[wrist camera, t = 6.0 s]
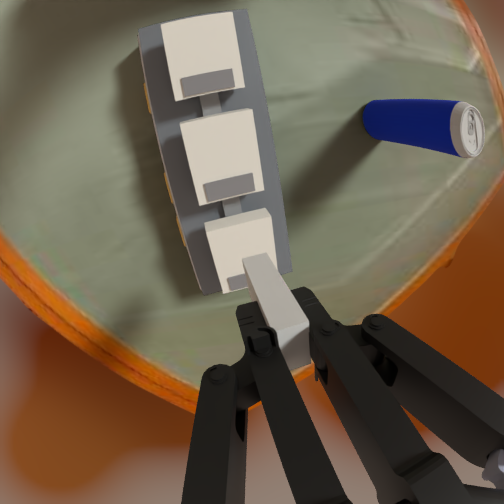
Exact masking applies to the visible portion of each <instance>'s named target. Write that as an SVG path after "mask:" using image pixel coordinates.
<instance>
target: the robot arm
mask: <svg viewBox="0 0 504 504" xmlns="http://www.w3.org/2000/svg"><path fill="white" fill-rule="evenodd" d="M242 262H243V267H244V271H245V276H246V280H247V285H248V289H249V294H250V297H251V300H252V302H250V303H246V304H243V305H239V306H238V307H237V310H236V317H237V320H238V324H239V327H240V331H241V334H242V338H243V341H244V345H245V354H244V356H243V357H242V358H241V360H240V361H238V362H237V363H235V364H233V365H232V366H228V365H224V364H218V365H214V366H212V367H210V368H208V369H207V370H206V371H205V372H204V374H203V376H202V380H201V385H200V391H199V396H198V402H197V408H196V413H195V419H194V425H193V431H192V437H191V443H190V450H189V456H188V462H187V468H186V474H185V481H184V488H183V495H182V502H181V504H245V503H244V502H245V478H246V477H245V476H246V449H247V423H248V408H249V407H251V406H252V405H254V404H256V403H257V402H259V401H261V402H262V405H263V408H264V411H265V414H266V417H267V420H268V423H269V426H270V430H271V433H272V436H273V439H274V442H275V445H276V448H277V450H278V454H279V456H280V459H281V462H282V465H283V468H284V471H285V474H286V477H287V480H288V482H289V485H290V488H291V491H292V494H293V496H294V499H295V502H296V504H353V503H352V502H351V501H350V500H349V499H348V498H347V496H346V494H345V492H344V490H343V488H342V486H341V483H340V481H339V479H338V477H337V475H336V473H335V470H334V468H333V466H332V464H331V462H330V459H329V457H328V455H327V453H326V451H325V449H324V446H323V444H322V442H321V440H320V437H319V435H318V433H317V431H316V429H315V426H314V424H313V422H312V420H311V417H310V415H309V413H308V411H307V409H306V406H305V404H304V402H303V400H302V398H301V395H300V393H299V390H298V388H297V386H296V384H295V381H294V379H293V377H292V375H291V372H290V370H293V369H296V368H299V367H302V366H305V365H308V364H311V358H312V360H313V361H314V363H315V380H316V381H318V378H319V380H320V382H321V384H322V386H323V387H324V389H325V391H326V393H327V395H328V397H329V399H330V401H331V403H332V405H333V406H334V408H335V410H336V413H337V415H338V416H339V418H340V420H341V422H342V424H343V426H344V428H345V430H346V432H347V434H348V436H349V438H350V440H351V441H352V444H353V446H354V447H355V449H356V451H357V453H358V455H359V457H360V459H361V461H362V463H363V465H364V467H365V469H366V471H367V473H368V475H369V477H370V479H371V480H372V482H373V484H374V486H375V489H376V491H377V499H378V502H379V504H504V398H502V397H501V396H500V395H498V394H497V393H495V392H494V391H493V390H491V389H490V388H489V387H487V386H486V385H484V384H483V383H482V382H480V381H479V380H477V379H476V378H475V377H473V376H472V375H470V374H469V373H468V372H466V371H465V370H463V369H462V368H460V367H459V366H458V365H456V364H455V363H453V362H452V361H451V360H449V359H448V358H446V357H445V356H443V355H442V354H440V353H439V352H438V351H436V350H435V349H433V348H432V347H430V346H429V345H428V344H426V343H425V342H423V341H421V340H420V339H419V338H417V337H416V336H414V335H413V334H411V333H410V332H408V331H407V330H406V329H404V328H403V327H401V326H399V325H398V324H397V323H395V322H394V321H392V320H391V319H389V318H388V317H386V316H384V315H382V314H371V315H369V316H366V317H365V318H364V319H363V322H362V324H360V325H352V326H345V325H343V324H341V323H340V322H339V321H336V320H333V319H332V318H331V317H330V315H329V314H328V313H327V311H326V310H325V309H324V307H323V306H322V304H321V303H320V302H319V300H318V299H317V298H316V296H315V295H314V293H313V292H312V291H311V290H309V289H308V288H306V287H300V288H297V289H294V290H289V288H288V286H287V285H286V283H285V281H284V280H283V278H282V277H281V275H280V273H279V272H278V270H277V269H276V267H275V265H274V264H273V262H272V261H271V259H270V257H269V256H268V254H267V253H266V252H265V253H262V254H258V255H254V256H250V257H246V258H242ZM400 405H401V406H402V407H404V408H405V409H406V410H407V411H408V412H409V413H411V414H412V415H413V416H414V417H415V418H416V419H418V420H419V421H420V422H421V423H422V424H423V425H425V426H426V427H427V428H428V429H429V430H431V431H432V432H433V433H434V434H436V436H438V437H439V438H440V439H441V440H443V441H444V442H445V443H446V444H447V445H449V446H450V447H451V448H452V449H453V450H454V451H456V452H457V453H458V454H459V455H460V456H462V457H463V458H464V459H466V460H467V461H469V462H470V463H472V464H474V465H476V466H479V467H482V468H485V469H484V471H483V472H482V478H483V479H484V480H489V481H491V482H492V483H494V485H495V486H496V489H493V488H486V487H478V486H473V485H467V484H463V483H462V482H461V480H460V479H459V477H458V476H457V474H456V472H455V471H454V469H453V468H452V466H451V465H450V463H449V461H448V460H447V459H446V458H445V457H444V456H443V455H442V454H440V453H436V452H432V451H431V450H430V449H429V447H428V446H427V444H426V443H425V441H424V440H423V438H422V437H421V435H420V434H419V432H418V431H417V429H416V428H415V426H414V425H413V423H412V422H411V420H410V419H409V417H408V416H407V414H406V413H405V411H404V410H403V408H402V407H401V406H400Z"/></svg>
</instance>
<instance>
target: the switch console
mask: <svg viewBox="0 0 504 504" xmlns="http://www.w3.org/2000/svg"><path fill="white" fill-rule="evenodd" d="M225 12H233V18H234V23H235V29H236V35H237V41H238V47H239V53H240V59H241V65H242V71H243V78H244V84H245V87H244V88H238V89H231V90H226V91H220V92H215V93H210V94H205V95H200V96H196V97H191V98H187V99H183V100H179V101H175V97H174V92H173V88H172V83H171V78H170V73H169V68H168V63H167V57H166V52H165V47H164V41H163V36H162V30H161V24H164V23H168V22H172V21H177V20H181V19H186V18H191V17H197V16H203V15H209V14H217V13H225ZM138 32H139V35H137V36H138V43H139V50H140V56H141V62H142V68H143V73H144V79H145V83H143V85H144V90H145V95H146V100H147V105H148V110H149V113H151V114H152V119H153V123H154V128H155V132H156V136H157V141H158V145H159V149H160V153H161V157H162V161H163V165H164V169H165V172H164V177H165V181H166V185H167V188H168V192H169V196H170V199H171V203H174V207H175V210H176V214H177V216H176V220H177V224H178V227H179V231H180V234H181V237H182V240H183V244H184V246H186V247H187V250H188V254H189V257H190V260H191V263H192V266H193V269H194V272H195V275H196V278H197V281H198V284H199V287H200V290H202V292H203V295H208V294H212V293H215V292H219V291H223V290H222V287H221V284H220V280H219V277H218V273H217V270H216V266H215V263H214V260H213V256H212V252H211V249H210V245H209V242H208V238H207V234H206V230H205V225H204V223H205V222H209V221H213V220H217V219H221V218H224V217H228V216H233V215H237V214H241V213H245V212H249V211H253V210H257V209H261V208H266V209H267V211H268V212H269V214H270V215H271V218H272V226H273V234H274V242H275V251H276V259H277V268H278V272H279V273H280V275H282V274H286V273H289V272H292V263H291V255H290V247H289V240H288V232H287V225H286V218H285V210H284V204H283V197H282V190H281V183H280V177H279V171H278V164H277V158H276V152H275V146H274V140H273V134H272V129H271V123H270V118H269V112H268V107H267V101H266V96H265V91H264V86H263V81H262V76H261V71H260V66H259V61H258V56H257V52H256V47H255V42H254V38H253V33H252V29H251V24H250V20H249V16H248V12H247V9H239V10H228V11H220V12H212V13H205V14H199V15H193V16H188V17H183V18H178V19H174V20H169V21H165V22H161V23H157V24H154V25H150V26H146V27H143V28H140V29H138ZM245 108H249V109H252V110H253V116H254V123H255V129H256V136H257V142H258V149H259V156H260V163H261V170H262V177H263V184H264V190H263V191H259V192H254V193H250V194H246V195H241V196H237V197H233V198H229V199H225V200H221V201H217V202H213V203H209V204H205V205H201V206H199V202H198V198H197V194H196V190H195V186H194V182H193V178H192V174H191V170H190V166H189V162H188V158H187V154H186V150H185V145H184V141H183V137H182V132H181V128H180V122H183V121H187V120H191V119H195V118H200V117H204V116H209V115H213V114H218V113H223V112H228V111H234V110H239V109H245Z"/></svg>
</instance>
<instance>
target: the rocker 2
mask: <svg viewBox="0 0 504 504" xmlns="http://www.w3.org/2000/svg"><path fill="white" fill-rule="evenodd" d="M180 128H181V132H182V137H183V141H184V145H185V150H186V154H187V158H188V162H189V166H190V170H191V174H192V178H193V182H194V186H195V190H196V194H197V198H198V202H199V206H201V205H205V204H209V203H213V202H217V201H221V200H225V199H229V198H233V197H237V196H241V195H246V194H250V193H254V192H259V191H263V190H264V184H263V177H262V170H261V163H260V156H259V149H258V142H257V136H256V129H255V123H254V116H253V110H252V109H249V108H245V109H239V110H234V111H228V112H223V113H218V114H213V115H209V116H204V117H200V118H195V119H191V120H187V121H183V122H180Z"/></svg>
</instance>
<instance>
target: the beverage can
mask: <svg viewBox="0 0 504 504" xmlns="http://www.w3.org/2000/svg"><path fill="white" fill-rule="evenodd" d="M363 124H364V127H365V129H366V131H367V132H368V133H369V135H370V136H372V137H373V138H375V139H378V140H384V141H390V142H396V143H401V144H407V145H412V146H417V147H422V148H426V149H431V150H435V151H439V152H443V153H447V154H451V155H455V156H459V157H462V158H471V157H476V156H478V155H479V154H480V152H481V151H482V148H483V145H484V140H485V128H484V123H483V119H482V117H481V114H480V113H479V111H478V110H477V109H476V108H475V107H474V106H472V105H470V104H468V103H466V102H463V101H450V100H430V99H388V100H373V101H371V102H369V103H368V104H367V105H366V107H365V109H364V112H363Z"/></svg>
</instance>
